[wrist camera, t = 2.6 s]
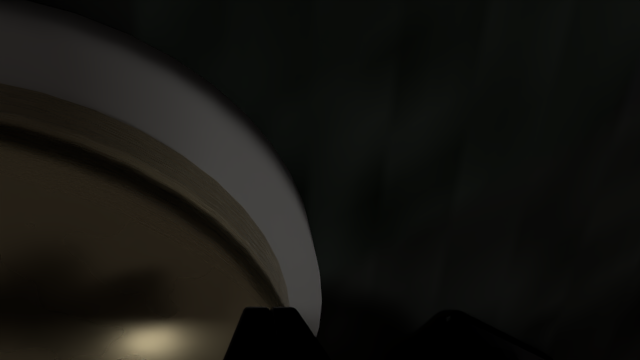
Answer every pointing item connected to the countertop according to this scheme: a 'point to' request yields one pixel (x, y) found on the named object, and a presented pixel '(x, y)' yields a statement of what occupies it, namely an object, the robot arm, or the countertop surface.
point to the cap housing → (166, 121)
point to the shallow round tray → (117, 242)
